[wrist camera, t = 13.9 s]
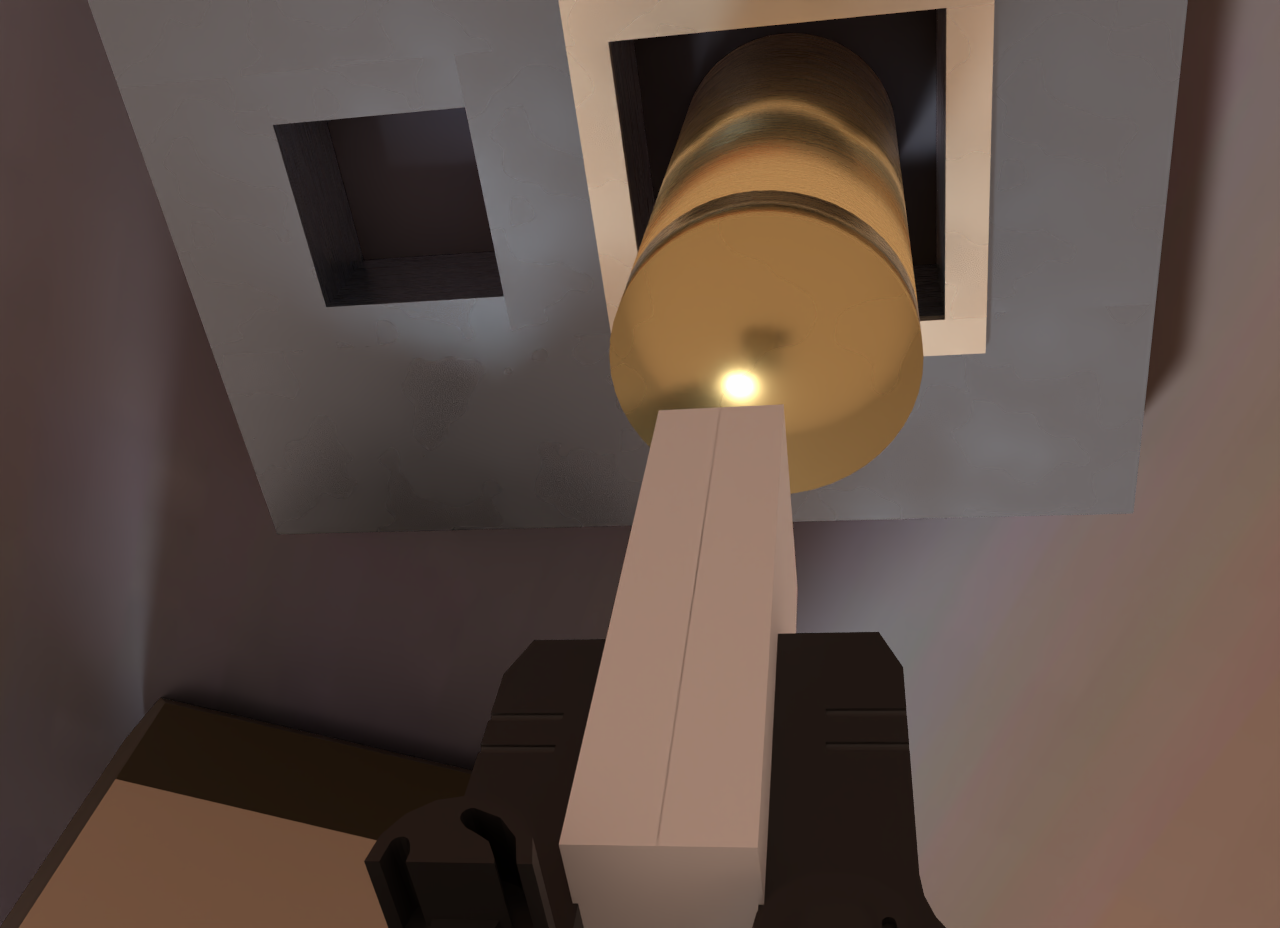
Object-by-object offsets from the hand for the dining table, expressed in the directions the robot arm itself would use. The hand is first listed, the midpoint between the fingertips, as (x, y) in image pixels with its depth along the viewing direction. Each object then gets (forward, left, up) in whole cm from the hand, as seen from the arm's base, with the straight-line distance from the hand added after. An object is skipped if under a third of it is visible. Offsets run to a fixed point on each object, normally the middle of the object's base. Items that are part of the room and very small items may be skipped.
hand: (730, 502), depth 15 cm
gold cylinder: (0, 0, -13) cm, 13 cm away
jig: (-3, 0, -13) cm, 13 cm away
